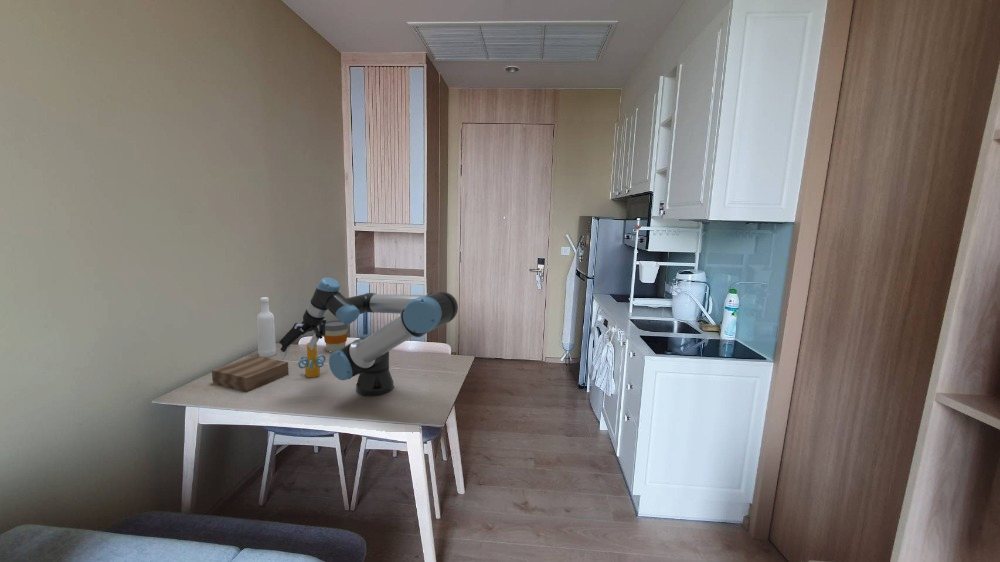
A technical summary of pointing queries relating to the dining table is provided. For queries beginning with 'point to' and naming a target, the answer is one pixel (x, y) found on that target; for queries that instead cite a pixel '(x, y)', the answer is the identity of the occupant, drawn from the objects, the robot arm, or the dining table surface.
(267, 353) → the bottle
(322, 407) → the dining table surface
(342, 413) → the dining table surface
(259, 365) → the walnut block
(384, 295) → the robot arm
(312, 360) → the yellow tube with loops
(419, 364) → the dining table surface
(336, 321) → the reusable coffee cup
